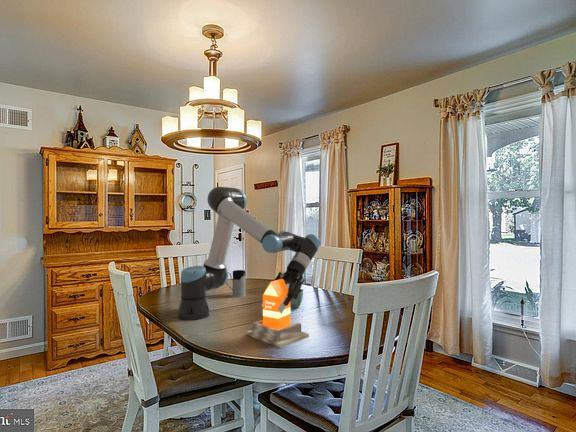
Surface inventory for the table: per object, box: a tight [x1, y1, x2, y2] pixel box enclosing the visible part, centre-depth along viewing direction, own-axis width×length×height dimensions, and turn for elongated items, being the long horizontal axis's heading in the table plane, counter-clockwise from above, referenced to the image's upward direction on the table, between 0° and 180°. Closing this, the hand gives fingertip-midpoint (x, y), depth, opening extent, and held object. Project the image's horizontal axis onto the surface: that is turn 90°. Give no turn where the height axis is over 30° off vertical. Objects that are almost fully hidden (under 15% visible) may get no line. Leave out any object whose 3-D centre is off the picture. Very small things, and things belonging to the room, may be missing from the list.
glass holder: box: [225, 269, 247, 298], centre depth 213 cm, size 9×14×15 cm, turn 68°
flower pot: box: [290, 288, 304, 310], centre depth 185 cm, size 9×9×9 cm
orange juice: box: [262, 279, 292, 330], centre depth 142 cm, size 8×9×20 cm
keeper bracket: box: [245, 319, 310, 349], centre depth 142 cm, size 20×16×5 cm
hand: (271, 309), depth 140 cm, fingers closed on orange juice, 9 cm apart
